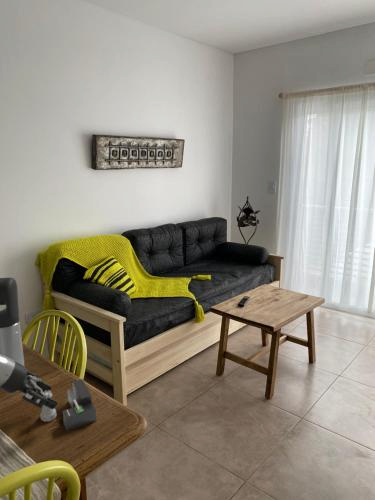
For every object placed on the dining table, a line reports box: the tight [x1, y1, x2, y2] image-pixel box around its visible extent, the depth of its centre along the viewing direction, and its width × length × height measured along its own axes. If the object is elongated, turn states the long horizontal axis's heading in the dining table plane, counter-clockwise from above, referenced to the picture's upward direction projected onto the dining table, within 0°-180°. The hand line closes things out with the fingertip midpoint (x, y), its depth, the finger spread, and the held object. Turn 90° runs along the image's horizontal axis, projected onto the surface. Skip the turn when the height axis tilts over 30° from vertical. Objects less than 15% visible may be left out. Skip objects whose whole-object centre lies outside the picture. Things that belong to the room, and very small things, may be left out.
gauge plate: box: [67, 388, 80, 410], centre depth 113 cm, size 11×1×4 cm, turn 30°
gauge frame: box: [62, 378, 97, 431], centre depth 114 cm, size 14×8×6 cm, turn 30°
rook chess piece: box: [39, 390, 58, 423], centre depth 111 cm, size 4×4×8 cm
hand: (52, 397), depth 112 cm, fingers open, 8 cm apart
